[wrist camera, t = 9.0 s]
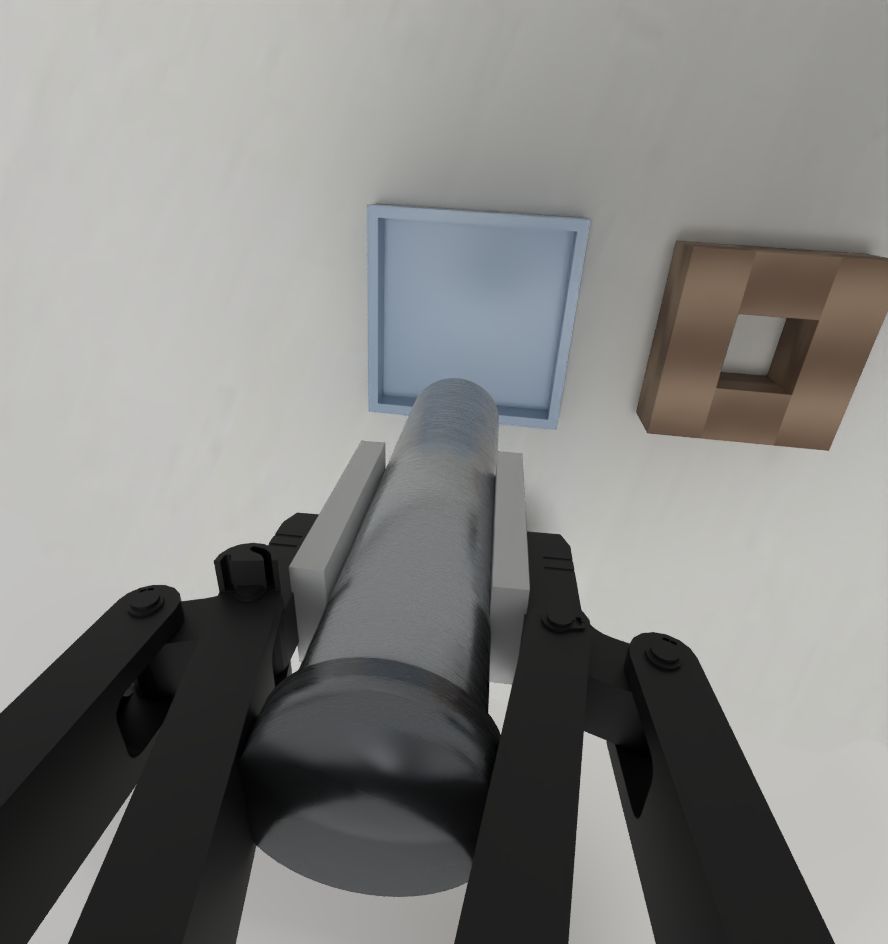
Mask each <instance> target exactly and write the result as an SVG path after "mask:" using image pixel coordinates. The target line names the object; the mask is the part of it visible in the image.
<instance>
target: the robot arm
mask: <svg viewBox="0 0 888 944" xmlns="http://www.w3.org/2000/svg"><path fill="white" fill-rule="evenodd" d="M385 470H386V467H385V443H382V442H369V441H361V443H360V444H359V446H358V448H357V450H356V451H355V453H354V455H353V457H352V458H351V460H350V462H349V464H348V465H347V467H346V469H345V470H344V472H343V474H342V476H341V477H340V479H339V481H338V483H337V484H336V486H335V488H334V490H333V491H332V493H331V495H330V496H329V498H328V500H327V502H326V503H325V505H324V507H323V509H322V510H321V512H320V514H319V515H318V514H307V513H296V514H294V515H293V516H291V517H290V518H288V519H287V520H285V521H284V522H283V523H282V524H281V526H280V527H279V529H278V530H277V532H276V533H275V536H273V538H272V539H271V541H270V542H269V545H265V544H258V543H248V544H240V545H237V546H234V547H231V548H229V549H227V550H225V551H224V552H222V553H221V554H219V555H218V557H217V558H216V559H215V560H214V565H215V570H216V576H217V581H218V586H219V591H220V592H219V594H218V596H216V597H211V598H205V599H197V600H189V601H181V597H180V593H179V592H178V591H177V590H176V589H175V588H173V587H169V586H166V585H151V586H147V587H142V588H139V589H137V590H134V591H132V592H130V593H128V594H126V595H125V596H124V597H122V598H121V599H119V600H118V601H117V602H116V603H115V604H114V605H113V606H112V607H111V608H110V609H109V610H108V611H106V612H105V613H104V614H103V615H102V616H101V617H100V618H99V619H98V620H97V621H96V622H95V623H94V624H93V625H92V626H91V627H90V628H89V629H88V630H87V631H86V632H85V633H84V634H83V635H82V636H80V637H79V638H78V639H77V640H76V641H75V642H74V643H73V644H72V645H71V646H70V647H69V648H68V649H67V650H66V651H65V652H64V653H63V654H62V655H61V656H60V657H59V658H58V659H56V660H55V662H53V663H52V664H51V665H50V666H49V667H48V668H47V669H46V670H45V671H44V672H43V673H42V674H41V675H40V676H39V677H38V678H37V679H36V680H35V681H34V682H33V683H32V684H31V685H30V686H29V687H27V688H26V689H25V690H24V691H23V692H22V693H21V694H20V695H19V696H18V697H17V698H16V699H15V700H14V701H13V702H12V703H11V704H10V705H9V706H8V707H7V708H5V710H3V711H2V712H1V713H0V944H27V943H28V941H29V940H30V939H31V937H32V936H33V934H34V933H35V931H36V930H37V928H38V927H39V925H40V924H41V923H42V921H43V920H44V918H45V917H46V915H47V914H48V912H49V911H50V909H51V908H52V907H53V905H54V904H55V902H56V901H57V899H58V898H59V896H60V895H61V893H62V892H63V891H64V889H65V888H66V886H67V885H68V883H69V882H70V880H71V879H72V877H73V876H74V874H75V873H76V872H77V870H78V869H79V867H80V866H81V864H82V863H83V861H84V860H85V858H86V857H87V856H88V854H89V853H90V851H91V850H92V848H93V847H94V845H95V844H96V843H97V841H98V840H99V838H100V837H101V835H102V834H103V832H104V831H105V829H106V828H107V827H108V825H109V824H110V822H111V821H112V819H113V818H114V816H115V815H116V813H117V812H118V810H119V809H120V808H121V806H122V805H123V803H124V802H125V800H126V799H127V797H128V796H129V795H130V793H131V792H132V790H133V789H134V787H135V786H136V787H135V790H134V792H133V794H132V797H131V799H130V801H129V804H128V806H127V808H126V811H125V813H124V815H123V817H122V820H121V822H120V824H119V827H118V829H117V831H116V834H115V836H114V838H113V841H112V843H111V845H110V848H109V850H108V853H107V855H106V857H105V859H104V862H103V864H102V866H101V869H100V871H99V873H98V876H97V878H96V880H95V883H94V885H93V887H92V889H91V892H90V894H89V896H88V899H87V901H86V903H85V906H84V908H83V910H82V913H81V915H80V918H79V920H78V922H77V924H76V927H75V929H74V931H73V934H72V936H71V938H70V941H69V943H68V944H236V939H237V935H238V930H239V925H240V920H241V916H242V911H243V906H244V901H245V897H246V891H247V887H248V882H249V877H250V873H251V868H252V863H253V859H254V853H255V848H256V844H255V843H254V842H253V837H252V832H251V827H250V822H249V818H248V813H247V808H246V803H245V798H244V794H243V789H242V784H241V779H240V774H239V770H238V765H237V762H238V760H239V757H240V755H241V753H242V751H243V748H244V746H245V744H246V741H247V739H248V737H249V735H250V733H251V731H252V729H253V726H254V724H255V722H256V720H257V718H258V716H259V714H260V712H261V709H262V707H263V705H264V703H265V701H266V700H267V698H268V696H269V694H270V693H271V692H272V691H273V689H274V688H275V687H276V686H277V685H278V684H279V683H280V682H281V681H283V680H284V679H285V678H286V677H288V676H289V675H291V674H292V669H291V661H290V660H291V658H292V655H293V653H294V651H295V649H296V647H297V645H298V653H299V661H300V662H302V661H303V659H304V656H305V654H306V652H307V650H308V647H309V645H310V643H311V640H312V638H313V636H314V633H315V631H316V629H317V626H318V624H319V622H320V620H321V617H322V615H323V613H324V610H325V608H326V606H327V603H328V601H329V599H330V596H331V594H332V592H333V590H334V587H335V585H336V583H337V580H338V578H339V576H340V573H341V571H342V569H343V566H344V564H345V562H346V560H347V557H348V555H349V553H350V550H351V548H352V546H353V543H354V541H355V539H356V536H357V534H358V532H359V530H360V527H361V525H362V523H363V520H364V518H365V516H366V513H367V511H368V509H369V506H370V504H371V502H372V500H373V497H374V495H375V493H376V490H377V488H378V486H379V483H380V481H381V479H382V476H383V474H384V472H385ZM489 619H490V624H491V649H490V676H489V682H494V683H504V684H512V688H511V693H510V697H509V702H508V706H507V711H506V715H505V720H504V725H503V728H502V733H501V737H500V742H499V746H498V751H497V755H496V760H495V764H494V769H493V773H492V777H491V782H490V786H489V791H488V795H487V800H486V804H485V809H484V813H483V818H482V822H481V826H480V831H479V835H478V840H477V844H476V849H475V853H474V858H473V862H472V867H471V871H470V875H469V880H468V884H467V889H466V893H465V898H464V903H463V907H462V911H461V916H460V920H459V925H458V929H457V933H456V938H455V943H454V944H568V941H569V926H570V913H571V899H572V885H573V872H574V857H575V844H576V830H577V816H578V803H579V802H578V801H579V789H580V775H581V761H582V748H583V733H584V731H585V732H588V733H590V734H593V735H595V736H598V737H600V738H603V739H605V740H607V747H608V750H609V754H610V759H611V763H612V767H613V771H614V775H615V779H616V783H617V787H618V791H619V795H620V799H621V804H622V808H623V812H624V816H625V820H626V824H627V828H628V832H629V836H630V840H631V844H632V848H633V852H634V857H635V861H636V865H637V869H638V873H639V877H640V881H641V885H642V889H643V893H644V897H645V901H646V905H647V909H648V914H649V918H650V922H651V926H652V930H653V934H654V938H655V942H656V944H835V943H834V941H833V939H832V937H831V934H830V932H829V930H828V928H827V926H826V924H825V922H824V920H823V918H822V916H821V914H820V912H819V910H818V907H817V905H816V903H815V901H814V899H813V897H812V895H811V893H810V891H809V889H808V887H807V885H806V883H805V881H804V878H803V876H802V874H801V872H800V870H799V869H798V866H797V864H796V862H795V860H794V858H793V856H792V854H791V851H790V849H789V847H788V845H787V843H786V841H785V839H784V837H783V835H782V833H781V831H780V829H779V827H778V825H777V822H776V820H775V818H774V816H773V814H772V812H771V810H770V808H769V806H768V804H767V802H766V800H765V798H764V795H763V794H762V791H761V790H760V787H759V785H758V783H757V781H756V779H755V777H754V775H753V773H752V770H751V768H750V766H749V764H748V762H747V760H746V758H745V756H744V754H743V752H742V750H741V748H740V746H739V744H738V741H737V739H736V737H735V735H734V733H733V731H732V729H731V727H730V725H729V723H728V721H727V719H726V717H725V714H724V712H723V710H722V708H721V706H720V704H719V702H718V700H717V698H716V696H715V694H714V692H713V690H712V687H711V685H710V683H709V681H708V679H707V677H706V675H705V673H704V671H703V669H702V667H701V665H700V663H699V660H698V658H697V657H696V656H695V654H694V653H693V652H692V650H691V649H690V648H689V647H688V646H686V645H685V644H684V643H682V642H681V641H680V640H678V639H675V638H673V637H671V636H669V635H666V634H661V633H655V632H650V633H642V634H640V635H638V636H636V637H634V638H633V639H632V641H631V643H630V644H629V643H626V642H623V641H620V640H617V639H614V638H612V637H609V636H607V635H605V634H603V633H601V632H599V631H598V630H596V629H595V628H594V627H592V626H591V625H590V621H589V619H588V618H587V616H586V615H585V614H584V613H583V612H582V610H581V605H580V600H579V594H578V588H577V582H576V577H575V572H574V565H573V562H572V554H571V548H570V546H569V544H568V543H567V542H566V541H565V539H564V538H563V537H562V536H561V535H560V534H549V533H538V532H527V530H526V511H525V493H524V475H523V457H522V453H511V452H498V455H497V466H496V477H495V500H494V524H493V547H492V571H491V595H490V618H489ZM136 784H137V785H136Z"/></svg>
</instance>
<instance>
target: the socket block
mask: <svg viewBox="0 0 888 944" xmlns="http://www.w3.org/2000/svg"><path fill="white" fill-rule="evenodd" d="M887 311H888V258H885V257H880V256H874V255H869V254H855V253H841V252H826V251H812V250H798V249H783V248H769V247H755V246H740V245H726V244H712V243H697V242H683V241H676V244H675V249H674V253H673V257H672V262H671V266H670V270H669V274H668V279H667V283H666V287H665V292H664V296H663V300H662V304H661V309H660V313H659V317H658V322H657V326H656V330H655V334H654V339H653V343H652V347H651V352H650V356H649V360H648V364H647V369H646V373H645V377H644V382H643V386H642V390H641V395H640V399H639V403H638V407H637V412H636V413H637V415H638V416H639V418H640V420H641V422H642V424H643V426H644V428H645V430H646V431H647V433H651V434H661V435H671V436H682V437H692V438H703V439H713V440H723V441H734V442H744V443H755V444H765V445H775V446H786V447H796V448H807V449H817V450H827V451H829V449H830V447H831V444H832V442H833V440H834V437H835V435H836V433H837V430H838V428H839V425H840V423H841V421H842V418H843V416H844V413H845V411H846V409H847V406H848V404H849V402H850V399H851V397H852V394H853V392H854V390H855V387H856V385H857V383H858V380H859V378H860V375H861V373H862V371H863V368H864V366H865V364H866V361H867V359H868V356H869V354H870V352H871V349H872V347H873V344H874V342H875V340H876V337H877V335H878V333H879V330H880V328H881V325H882V323H883V321H884V318H885V316H886V314H887ZM738 314H746V315H759V316H772V317H784V318H787V320H786V323H785V326H784V329H783V332H782V334H781V337H780V340H779V343H778V346H777V349H776V352H775V355H774V358H773V361H772V364H771V367H770V370H769V373H768V376H757V375H745V374H734V373H722V372H721V369H722V366H723V363H724V359H725V356H726V353H727V349H728V346H729V343H730V339H731V336H732V333H733V329H734V326H735V322H736V319H737V316H738Z"/></svg>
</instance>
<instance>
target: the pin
mask: <svg viewBox="0 0 888 944" xmlns="http://www.w3.org/2000/svg"><path fill="white" fill-rule="evenodd" d="M498 432H499V415H498V410H497V407H496V404H495V402H494V400H493V399H492V397H491V396H490V395H489V393H488V392H487V391H486V390H485V389H483V388H482V387H481V386H479V385H478V384H476V383H474V382H472V381H469V380H466V379H461V378H447V379H442V380H439V381H436V382H434V383H432V384H430V385H429V386H427V387H426V388H425V389H424V390H423V391H422V392H421V393H420V394H419V396H418V397H417V399H416V401H415V403H414V405H413V407H412V410H411V412H410V414H409V416H408V419H407V421H406V423H405V426H404V428H403V430H402V433H401V435H400V437H399V440H398V442H397V444H396V446H395V449H394V451H393V453H392V456H391V458H390V460H389V463H388V465H387V467H386V470H385V472H384V474H383V476H382V479H381V481H380V483H379V486H378V488H377V490H376V493H375V495H374V497H373V500H372V502H371V504H370V506H369V509H368V511H367V513H366V516H365V518H364V520H363V523H362V525H361V527H360V530H359V532H358V534H357V536H356V539H355V541H354V543H353V546H352V548H351V550H350V553H349V555H348V557H347V560H346V562H345V564H344V566H343V569H342V571H341V573H340V576H339V578H338V580H337V583H336V585H335V587H334V590H333V592H332V594H331V596H330V599H329V601H328V603H327V606H326V608H325V610H324V613H323V615H322V617H321V620H320V622H319V624H318V626H317V629H316V631H315V633H314V636H313V638H312V640H311V643H310V645H309V647H308V650H307V652H306V654H305V656H304V659H303V661H302V663H301V666H300V668H299V670H298V671H296V672H295V673H293V674H291V675H289V676H288V677H286V678H285V679H284V680H283V681H281V682H280V683H279V684H278V685H277V686H276V687H275V688H274V689H273V691H272V692H271V693H270V694H269V696H268V698H267V700H266V701H265V703H264V705H263V707H262V709H261V712H260V714H259V716H258V718H257V720H256V722H255V724H254V726H253V729H252V731H251V733H250V735H249V737H248V739H247V741H246V744H245V746H244V748H243V751H242V753H241V755H240V757H239V760H238V762H237V765H238V770H239V774H240V779H241V784H242V789H243V794H244V798H245V803H246V808H247V813H248V818H249V822H250V827H251V832H252V837H253V842H254V843H255V844H256V845H257V846H258V847H259V848H260V849H262V851H264V852H265V853H266V854H267V855H269V856H270V857H271V858H273V859H274V860H276V861H277V862H278V863H280V864H282V865H284V866H285V867H287V868H289V869H290V870H292V871H294V872H296V873H299V874H301V875H302V876H304V877H307V878H309V879H312V880H314V881H317V882H319V883H322V884H325V885H328V886H331V887H335V888H338V889H342V890H346V891H350V892H356V893H361V894H368V895H376V896H392V897H406V896H419V895H427V894H433V893H437V892H442V891H446V890H449V889H452V888H455V887H458V886H460V885H463V884H464V883H467V882H468V880H469V875H470V871H471V867H472V862H473V858H474V853H475V849H476V844H477V840H478V835H479V831H480V826H481V822H482V818H483V813H484V809H485V804H486V800H487V795H488V791H489V786H490V782H491V777H492V773H493V769H494V764H495V760H496V755H497V751H498V746H499V742H500V737H501V735H500V732H499V729H498V728H497V726H496V724H495V722H494V721H493V719H492V717H491V716H490V715H489V714H488V703H489V676H490V649H491V624H490V619H489V618H490V595H491V571H492V547H493V524H494V500H495V477H496V466H497V455H498Z"/></svg>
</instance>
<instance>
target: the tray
mask: <svg viewBox="0 0 888 944" xmlns="http://www.w3.org/2000/svg"><path fill="white" fill-rule="evenodd" d="M590 222H591V220H590V219H587V218H579V217H564V216H549V215H534V214H519V213H505V212H490V211H475V210H460V209H445V208H431V207H416V206H401V205H386V204H370V205H367V244H368V385H369V412H379V413H390V414H400V415H409V414H410V412H411V410H412V407H413V405H414V403H415V401H416V399H417V397H418V396H419V394H420V393H421V392H422V391H423V390H424V389H425V388H426V387H427V386H429V385H430V384H432V383H434V382H436V381H439V380H442V379H447V378H461V379H466V380H469V381H472V382H474V383H476V384H478V385H479V386H481V387H482V388H483V389H485V390H486V391H487V392H488V393H489V395H490V396H491V397H492V399H493V400H494V402H495V404H496V407H497V410H498V415H499V424H503V425H514V426H524V427H534V428H545V429H555V430H556V429H557V423H558V417H559V411H560V405H561V399H562V393H563V386H564V380H565V374H566V368H567V362H568V356H569V350H570V344H571V338H572V332H573V325H574V319H575V313H576V307H577V301H578V295H579V289H580V283H581V277H582V271H583V264H584V258H585V252H586V246H587V240H588V234H589V228H590Z"/></svg>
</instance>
